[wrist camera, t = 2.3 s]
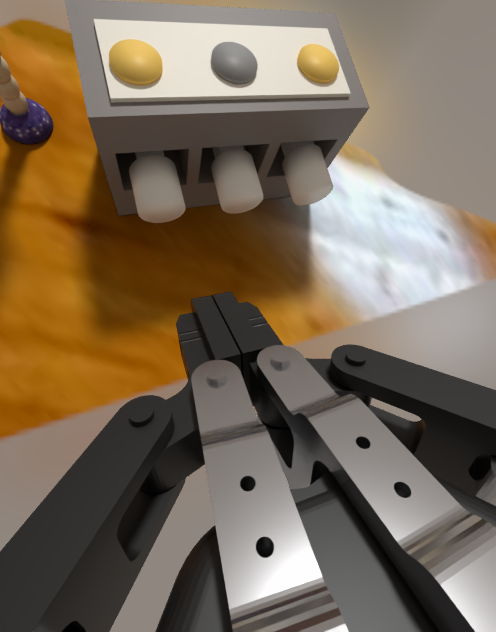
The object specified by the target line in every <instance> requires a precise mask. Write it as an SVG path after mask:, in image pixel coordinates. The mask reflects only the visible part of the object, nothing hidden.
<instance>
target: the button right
mask: <svg viewBox="0 0 496 632" xmlns="http://www.w3.org/2000/svg"><path fill="white" fill-rule="evenodd" d="M281 148H282V151H283V154H284V157H285V158H284V160H283V162H282V168H283V171H284V174H285V177H286V181H287V184H288V187H289V191H290V194H291V197H292V200H293V203H294V204H296V205H309V204H312V203H315V202H317V201H320V200H321V199H323V198H325V197H326V196H327V195H328V194H329V193H330V192H331V191H332V189H333V184H332V181H331V178H330V175H329V172H328V169H327V166H326V163H325V160H324V157H323V154H322V151H321V148H320V147H319V146H317V145H314V142H313V141H303V142H288V143H281Z"/></svg>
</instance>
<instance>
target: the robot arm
mask: <svg viewBox="0 0 496 632" xmlns="http://www.w3.org/2000/svg"><path fill="white" fill-rule="evenodd" d="M191 307H192V313H188V314H183V315H180V316H179V318H178V321H177V323H176V327H177V332H178V338H179V344H180V349H181V355H182V359H183V363H184V367H185V370H186V374H187V378H188V383H187V384H186V386H185V387H184V388H183V389H182V390H181V391H180V392H179V393H177V394H176V395H174V396H173V397H171V398H169V399H167V400H165V399H163V398H161V397H159V396H153V395H148V396H141V397H138V398H135V399H133V400H131V401H129V402H128V403H126V404H125V405H124V406H122V407H121V408H120V409H119V411H118V412H117V413H116V414H115V415H114V417H113V418H112V419H111V420H110V421H109V423H108V424H107V425H106V426H105V427H104V428H103V430H102V431H101V432H100V433H99V434H98V436H97V437H96V438H95V439H94V440H93V442H92V443H91V444H90V445H89V446H88V448H87V449H86V450H85V451H84V452H83V454H82V455H81V456H80V457H79V458H78V459H77V461H76V462H75V463H74V464H73V465H72V467H71V468H70V469H69V470H68V471H67V473H66V474H65V475H64V476H63V477H62V479H61V480H60V481H59V482H58V483H57V485H56V486H55V487H54V488H53V489H52V491H51V492H50V493H49V494H48V495H47V497H46V498H45V499H44V500H43V501H42V502H41V504H40V505H39V506H38V507H37V508H36V510H35V511H34V512H33V513H32V514H31V516H30V517H29V518H28V519H27V520H26V522H25V523H24V524H23V525H22V526H21V527H20V529H19V530H18V531H17V532H16V533H15V535H14V536H13V537H12V538H11V539H10V541H9V542H8V543H7V544H6V545H5V547H4V548H3V549H2V550H1V552H0V632H109V631H110V629H111V627H112V625H113V623H114V621H115V619H116V617H117V616H118V614H119V611H120V610H121V608H122V606H123V604H124V602H125V600H126V598H127V596H128V594H129V592H130V590H131V588H132V586H133V584H134V582H135V580H136V578H137V576H138V574H139V572H140V570H141V568H142V566H143V564H144V562H145V560H146V558H147V556H148V555H149V552H150V551H151V549H152V547H153V545H154V543H155V540H156V539H157V537H158V535H159V533H160V531H161V529H162V527H163V525H164V523H165V521H166V519H167V517H168V515H169V513H170V511H171V509H172V507H173V505H174V503H175V501H176V499H177V497H178V496H179V493H180V491H181V490H182V488H183V485H184V483H185V479H186V477H187V476H189V475H190V474H192V473H193V472H194V471H196V470H197V469H199V468H200V467H201V466H203V465H204V464H205V466H206V472H207V478H208V484H209V491H210V497H211V503H212V508H213V514H214V521H215V526H213V527H212V528H211V529H210V530H209V531H208V532H207V533H206V534H205V535H204V536H203V537H202V538H201V539H200V540H199V542H198V543H197V544H196V545H195V546H194V548H193V549H192V551H191V552H190V554H189V555H188V557H187V558H186V560H185V562H184V564H183V566H182V568H181V570H180V571H179V574H178V576H177V578H176V581H175V583H174V586H173V588H172V591H171V593H170V596H169V599H168V601H167V604H166V606H165V609H164V611H163V614H162V616H161V619H160V621H159V624H158V627H157V629H156V632H496V390H493V389H490V388H487V387H484V386H481V385H478V384H475V383H472V382H469V381H466V380H462V379H460V378H456V377H454V376H450V375H447V374H444V373H441V372H438V371H435V370H432V369H429V368H426V367H423V366H420V365H417V364H414V363H411V362H408V361H405V360H402V359H399V358H396V357H393V356H390V355H386V354H384V353H380V352H377V351H374V350H371V349H368V348H365V347H362V346H358V345H343V346H340V347H338V348H336V349H335V350H334V351H333V353H332V357H331V359H308V358H304V357H303V355H302V354H300V352H299V351H297V350H296V349H294V348H292V347H289V346H284V345H283V344H282V342H281V341H280V339H279V338H278V336H277V335H276V334H275V332H274V331H273V329H272V328H271V327H270V325H269V324H268V323H267V321H266V319H265V318H264V317H263V315H262V314H261V312H260V311H259V309H258V308H257V307H255V306H254V305H252V304H250V303H248V302H243V303H238V301H237V300H236V298H235V297H234V295H233V293H232V292H226V293H221V294H215V295H212V296H205V297H200V298H194V299H191ZM372 398H375V399H377V400H380V401H382V402H385V403H387V404H390V405H392V406H395V407H397V408H400V409H402V410H405V411H407V412H410V413H413V414H415V415H417V416H419V417H420V418H421V419H422V420H420V421H417V422H412V421H408V420H406V419H403V418H401V417H398V416H396V415H393V414H391V413H389V412H386V411H384V410H381V409H379V408H376V407H374V406H371V405H370V403H371V399H372ZM253 406H254V407H255V409H256V411H257V417H256V414H255V411H254V408H253ZM283 472H284V473H283ZM284 474H285V476H286V478H287V481H288V484H289V486H288V484H287V481H286V478H285V476H284ZM289 488H290V489H289Z"/></svg>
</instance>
